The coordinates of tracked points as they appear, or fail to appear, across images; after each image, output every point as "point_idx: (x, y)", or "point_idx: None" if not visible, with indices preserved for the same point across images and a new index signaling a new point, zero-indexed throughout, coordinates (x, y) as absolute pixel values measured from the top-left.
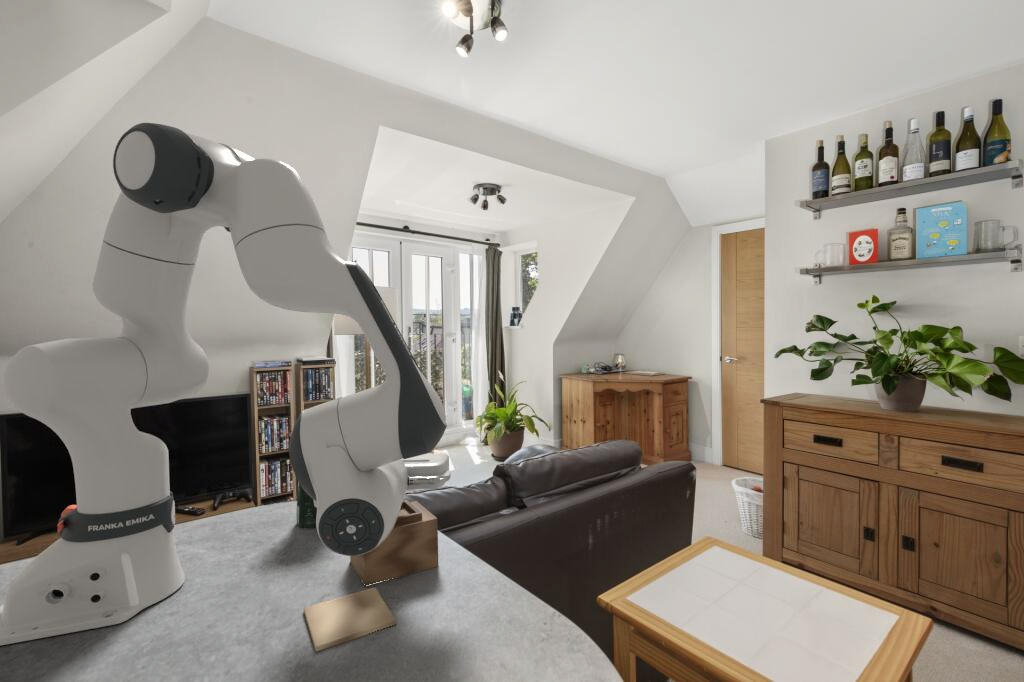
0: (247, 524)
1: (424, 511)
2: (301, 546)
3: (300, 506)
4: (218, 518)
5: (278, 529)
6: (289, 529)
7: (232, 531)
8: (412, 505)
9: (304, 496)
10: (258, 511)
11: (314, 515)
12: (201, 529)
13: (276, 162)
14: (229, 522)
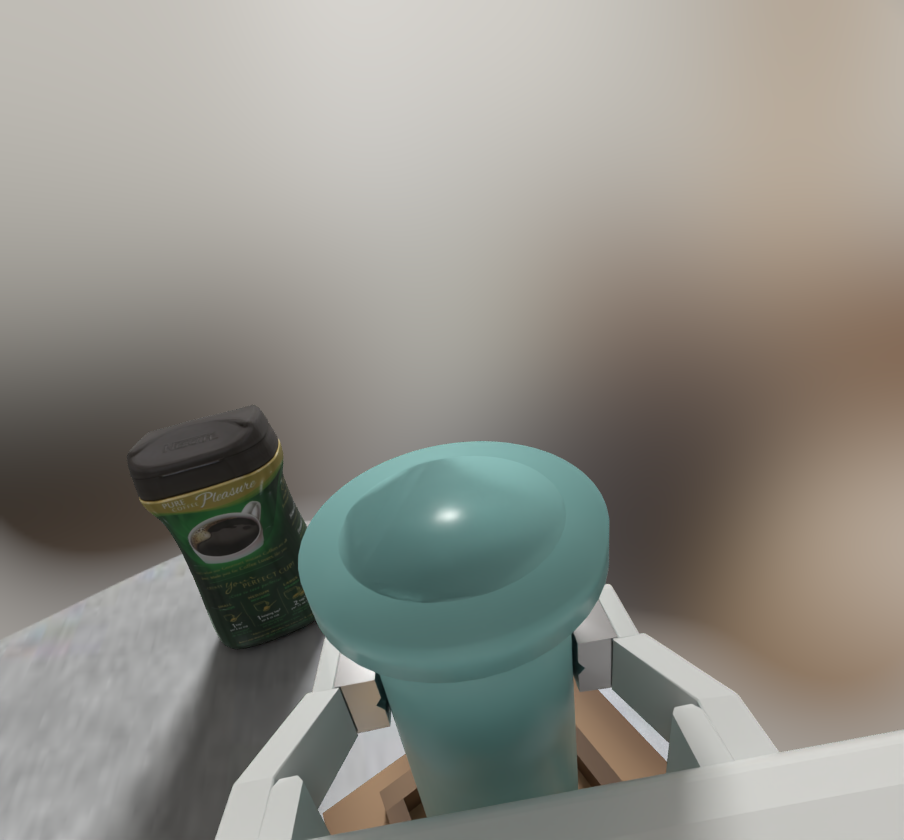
0: (119, 635)
1: (649, 767)
2: (221, 764)
3: (210, 612)
4: (71, 611)
5: (180, 657)
6: (205, 656)
7: (76, 673)
8: (590, 749)
9: (209, 592)
10: (157, 576)
11: (252, 625)
12: (16, 666)
13: None
14: (86, 628)
